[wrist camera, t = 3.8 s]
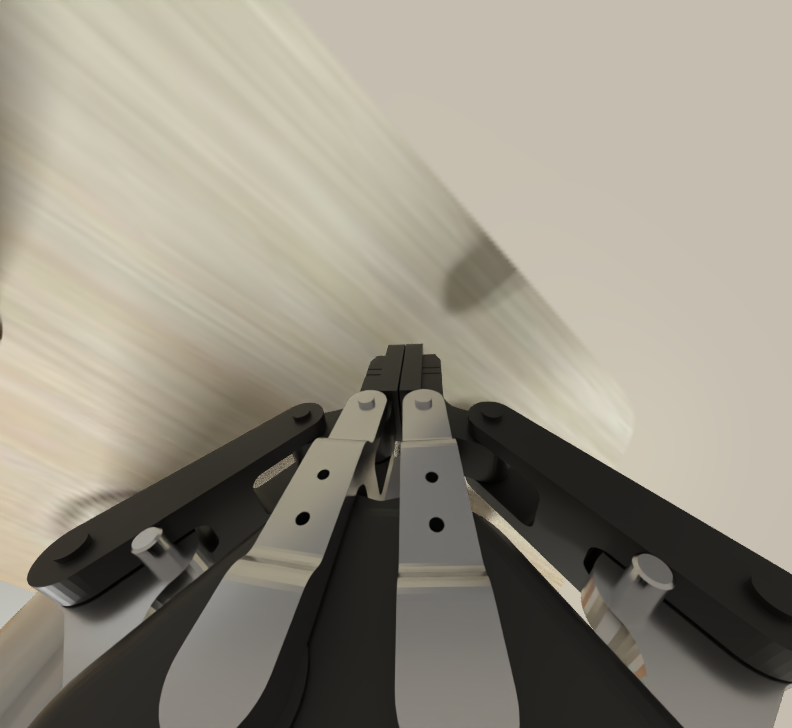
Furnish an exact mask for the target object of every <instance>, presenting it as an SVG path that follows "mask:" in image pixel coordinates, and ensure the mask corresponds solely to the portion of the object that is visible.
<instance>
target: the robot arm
mask: <svg viewBox="0 0 792 728" xmlns="http://www.w3.org/2000/svg"><path fill="white" fill-rule="evenodd" d="M395 441H401V450H400V497H399V498H394V499H389V500H385V497H386V492H387V488H388V483H389V479H390V475H391V470H392V466H393V461H394V448H395ZM290 454H293V456H294V459H295V463H294V464H292V465H291V466H289V467H288V468H287V469H285V470H284V471H282V472H281V473H279V474H278V475H276V476H275V477H273V478H272V479H271V480H269V481H268V482H266V483H265V484H263V485H262V486H260V487H258V488H254V489H253V484H254V482H255V480H256V478H257V477H258V476H259V475H260V474H262V473H263V472H265V471H266V470H268V469H269V468H271V467H272V466H274V465H275V464H277V463H278V462H280V461H281V460H283V459H284V458H286V457H287V456H289V455H290ZM464 476H465V477H466V480H467V482H468V484H469V485H470V486H471V487H472V488H473V489H474V490H475V491H476V492H477V493H478V494H479V495H480V496H481V497H482V498H483V499H484V500H485V501H486V502H487V503H488V504H489V505H490V506H491V507H492V508H493V509H494V510H495V511H496V512H497V513H499V514H500V515H501V516H502V517H503V518H504V519H505V520H506V521H507V522H508V523H509V524H510V525H511V526H512V527H513V528H514V529H515V530H516V531H517V532H518V533H519V534H520V535H521V536H522V537H523V538H524V539H526V540H527V541H528V542H529V543H530V544H531V545H532V546H533V547H534V548H535V549H536V550H537V551H538V552H539V553H540V554H541V555H542V556H543V557H544V558H545V559H546V560H547V561H548V562H549V563H550V564H551V565H553V566H554V567H555V568H556V569H557V570H558V571H559V572H560V573H561V574H562V575H563V576H564V577H565V578H566V579H567V580H568V581H569V582H570V583H571V584H572V585H573V586H574V587H575V588H577V589H578V590H579V591H580V592H581V602H582V607H583V611H584V613H585V615H586V618H587V620H588V622H589V624H590V625H591V627H592V628H593V629H592V628H591V627H590V626H589V625H588V624H587V623H586V622H585V621H584V620H583V619H582V617H581V616H579V614H578V613H577V612H576V611H575V610H574V609H573V608H572V607H571V606H570V605H569V604H568V602H566V600H565V599H564V598H563V597H562V596H561V595H560V594H559V593H558V592H557V591H556V590H555V588H554V587H553V586H552V585H551V584H550V583H549V582H548V581H547V580H546V579H545V578H544V577H543V576H542V575H541V573H540V572H539V571H538V570H537V569H536V568H535V567H534V566H533V565H532V564H531V563H530V562H529V561H528V559H527V558H526V557H525V556H524V555H523V554H522V553H521V552H520V551H519V550H518V549H517V548H516V547H515V546H514V544H513V543H512V542H511V541H510V540H509V539H508V538H507V537H506V536H505V535H504V534H503V533H502V532H501V531H500V530H499V529H497V528H496V527H495V526H494V525H493V524H491V523H490V522H489V521H487V520H486V519H484V518H483V517H481V516H479V515H477V514H475V513H473V512H472V509H471V505H470V500H469V496H468V491H467V487H466V482H465V478H464ZM27 581H28V584H29V585H30V586H32V587H33V588H35V589H36V590H38V592H37V593H36V594H35V595H34V596H33V597H32V598H31V599H30V600H29V601H28V602H27V603H26V604H25V605H24V606H23V607H22V608H21V609H20V610H19V611H18V612H17V613H16V614H15V615H14V616H13V618H11V619H10V620H9V621H8V622H7V623H6V624H5V625H4V626H3V627H2V628H1V629H0V728H773V726H774V723H775V720H776V716H777V713H778V710H779V707H780V703H781V700H782V696H783V693H784V691H786V690H788V689H790V688H792V574H790V573H789V572H787V571H785V570H784V569H782V568H780V567H779V566H777V565H775V564H773V563H772V562H770V561H768V560H767V559H765V558H763V557H762V556H760V555H758V554H756V553H755V552H753V551H751V550H750V549H748V548H746V547H745V546H743V545H741V544H739V543H738V542H736V541H734V540H733V539H731V538H729V537H728V536H726V535H724V534H723V533H721V532H719V531H717V530H716V529H714V528H712V527H711V526H709V525H707V524H706V523H704V522H702V521H701V520H699V519H697V518H695V517H694V516H692V515H690V514H689V513H687V512H685V511H684V510H682V509H680V508H678V507H677V506H675V505H673V504H672V503H670V502H668V501H667V500H665V499H663V498H661V497H660V496H658V495H656V494H655V493H653V492H651V491H650V490H648V489H646V488H644V487H643V486H641V485H639V484H638V483H636V482H634V481H633V480H631V479H629V478H627V477H626V476H624V475H622V474H621V473H619V472H617V471H616V470H614V469H612V468H611V467H609V466H607V465H605V464H604V463H602V462H600V461H599V460H597V459H595V458H594V457H592V456H590V455H589V454H587V453H585V452H583V451H582V450H580V449H578V448H577V447H575V446H573V445H572V444H570V443H568V442H566V441H565V440H563V439H561V438H560V437H558V436H556V435H555V434H553V433H551V432H549V431H548V430H546V429H544V428H543V427H541V426H539V425H538V424H536V423H534V422H533V421H531V420H529V419H527V418H526V417H524V416H522V415H521V414H519V413H517V412H516V411H514V410H512V409H510V408H509V407H507V406H505V405H503V404H500V403H497V402H480V403H477V404H475V405H473V406H472V407H471V408H470V409H469V411H467V410H462V409H459V408H456V407H453V406H451V405H450V404H448V403H447V402H446V401H445V399H444V397H443V388H442V375H441V361H440V359H439V358H438V357H437V356H436V355H435V354H429V355H423V344H406V345H389V346H388V349H387V353H386V356H377V357H376V358H375V359H374V360H373V361H371V363H370V365H369V368H368V371H367V374H366V377H365V379H364V382H363V385H362V388H361V391H360V392H358V393H356V394H354V395H353V396H351V397H350V398H349V400H348V401H347V403H346V405H345V407H344V408H343V409H341V410H337V411H332V412H328V413H324V411H323V408H322V407H321V406H320V405H318V404H315V403H304V404H300V405H297V406H295V407H293V408H291V409H289V410H287V411H285V412H284V413H282V414H280V415H278V416H276V417H275V418H273V419H271V420H269V421H267V422H265V423H264V424H262V425H260V426H258V427H256V428H255V429H253V430H251V431H249V432H247V433H246V434H244V435H242V436H240V437H238V438H237V439H235V440H233V441H231V442H229V443H228V444H226V445H224V446H222V447H220V448H219V449H217V450H215V451H213V452H211V453H210V454H208V455H206V456H204V457H202V458H200V459H199V460H197V461H195V462H193V463H191V464H190V465H188V466H186V467H184V468H182V469H181V470H179V471H177V472H175V473H173V474H172V475H170V476H168V477H166V478H164V479H163V480H161V481H159V482H157V483H155V484H154V485H152V486H150V487H148V488H146V489H145V490H143V491H141V492H139V493H137V494H135V495H134V496H132V497H130V498H128V499H126V500H125V501H123V502H121V503H119V504H117V505H116V506H114V507H112V508H110V509H108V510H107V511H105V512H103V513H101V514H99V515H98V516H96V517H94V518H92V519H90V520H89V521H87V522H85V523H83V524H81V525H80V526H78V527H76V528H74V529H72V530H71V531H69V532H67V533H66V534H65V535H63V536H62V537H60V538H59V539H58V540H56V541H55V542H54V543H53V544H51V545H50V546H49V547H48V548H47V549H46V550H45V551H44V552H43V553H42V554H41V555H40V556H39V557H38V558H37V560H36V561H35V562H34V564H33V565H32V567H31V568H30V570H29V573H28V576H27Z"/></svg>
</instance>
